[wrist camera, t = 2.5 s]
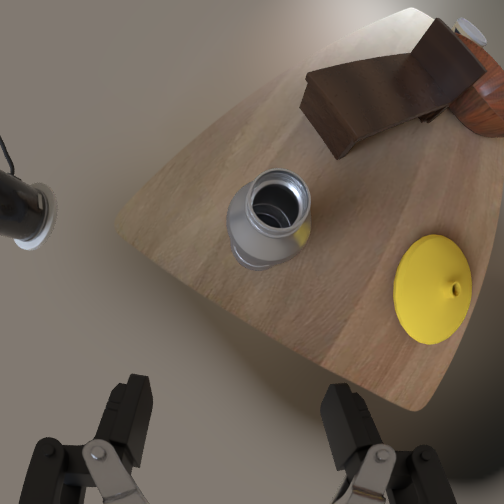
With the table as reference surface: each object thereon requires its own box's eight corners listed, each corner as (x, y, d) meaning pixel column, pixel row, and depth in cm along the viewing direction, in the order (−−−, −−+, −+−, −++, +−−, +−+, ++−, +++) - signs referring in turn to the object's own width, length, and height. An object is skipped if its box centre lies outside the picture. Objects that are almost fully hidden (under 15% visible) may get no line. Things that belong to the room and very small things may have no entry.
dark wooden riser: (337, 163, 37) (397, 89, 19) (296, 105, 38) (325, 16, 20) (430, 121, 39) (487, 71, 21) (396, 76, 40) (439, 18, 22)
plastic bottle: (284, 220, 36) (335, 152, 16) (280, 273, 35) (333, 264, 15) (233, 216, 35) (228, 139, 15) (228, 269, 35) (214, 253, 15)
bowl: (492, 175, 39) (529, 158, 28) (408, 90, 40) (437, 56, 28) (500, 114, 42) (525, 96, 30) (431, 47, 42) (451, 20, 31)
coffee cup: (435, 47, 43) (457, 20, 31) (442, 38, 44) (461, 14, 32) (463, 71, 42) (487, 48, 30) (467, 60, 43) (488, 38, 31)
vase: (364, 299, 35) (390, 303, 28) (418, 216, 37) (446, 204, 30) (426, 359, 34) (454, 369, 27) (470, 280, 36) (499, 278, 29)
